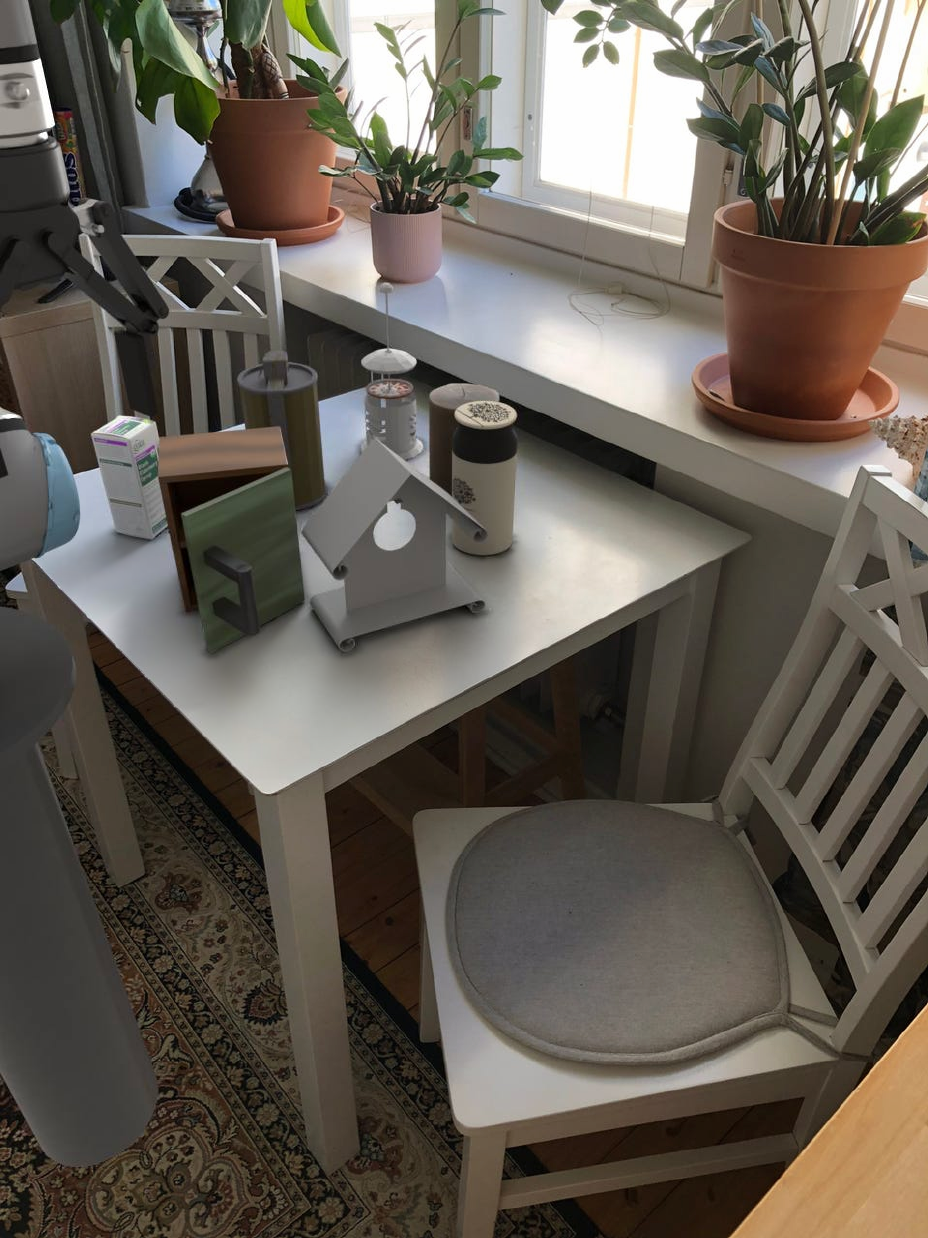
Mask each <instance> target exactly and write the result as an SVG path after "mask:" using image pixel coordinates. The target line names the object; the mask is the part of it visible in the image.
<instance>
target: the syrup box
mask: <svg viewBox="0 0 928 1238" xmlns="http://www.w3.org/2000/svg"><path fill="white" fill-rule="evenodd" d="M90 437H91V440H92V444H93V448H94V452H95V456H96V459H97V460H96V461H97V463H98V467H99V472H100V475H101V479H102V483H103V487H104V490H105V495H106V498H107V501H108V505H109V510H110V514H111V517H112V521H113V526H114V529H115V531H116V533H118V534H122V535H126V536H130V537H135V538H140V539H145V540H154V539H155V538H156V536H158V535H159V534H160V533H161V532H162V531H164V530H165V529H166V528H168V524H167V519H166V514H165V509H164V504H163V499H162V494H161V489H160V485H159V480H158V461H159V437H160V436H159V432H158V426H157V423H156V421H154V420H151V419H147V418H143V417H138V416H129V415H117V416H116V417H115V418H114V419H112V420H111V421H110V422H108V423H106V424H104V425H103V426H101V427H99V428H98V429H96V430H94V431H92V432H91V433H90Z"/></svg>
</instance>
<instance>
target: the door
mask: <svg viewBox="0 0 928 1238" xmlns="http://www.w3.org/2000/svg"><path fill="white" fill-rule="evenodd" d="M181 516H182V522H183V527H184V532H185V537H186V543H187V548H188V553H189V558H190V563H191V569H192V574H193V579H194V584H195V590H196V595H197V600H198V605H199V610H198V612H199V615H200V616H199V617H200V621H201V624H202V625H201V626H202V631H203V636H204V641H205V646H206V651H207V652H208V653H210V654H213V653H215V652H217V651H218V650H220V649H222V648H224V647H226V646H228V645H229V644H231V643H233V642H234V641H236V640H238V639H240V638H241V637H243V636H245V635H246V636H248V637H255V636H257V635H259V634H260V633H261V626H263V625H264V624H266V623H268V622H270V621H271V620H274V619H275V618H277V617H279V616H281V615H282V614H284V613H285V612H287V611H289V610H291V609H293V608H295V607H296V606H299V605H300V604H301V603H303V602H305V601H306V598H305V587H304V579H303V569H302V559H301V550H300V549H301V548H300V541H299V532H298V531H299V530H298V522H297V512H296V511H295V503H294V493H293V484H292V475H291V469H289V468H287V467H286V468H283V469H281V470H279V471H277V472H274V473H272V474H270V475H268V476H265V477H263V478H261V479H258V480H256V481H254V482H252V483H249V484H247V485H245V486H243V487H240V488H238V489H236V490H234V491H231V492H229V493H227V494H224V495H222V496H220V497H218V498H215V499H213V500H211V501H209V502H206V503H204V504H202V505H200V506H197V507H195V508H193V509H190V510H188V511H186V512H184V513H181Z"/></svg>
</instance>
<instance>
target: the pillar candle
mask: <svg viewBox="0 0 928 1238" xmlns="http://www.w3.org/2000/svg"><path fill="white" fill-rule="evenodd" d="M428 398H429V399H428V405H429V408H428V418H429V419H428V426H429V428H428V433H429V434H428V435H429V436H428V437H429V439H428V440H429V442H428V443H429V444H428V445H429V446H428V452H429V454H428V456H429V457H428V458H429V477H428V478H429V479H430V480H431V481H433V482H434V483H435V484H436V485H438V486H439V487H440V488H442V489H443V490H444V491H446V492H447V493H448V494H449V495H450V496H451V497H452V437H453V434H454V433H455V431H456V429H457V427H458V423H457V420H456V418H455V411H456V409H457V408H458V407H460V406H461V405H464V404H466V403H470V402H475V401H494V402H499V403H500V393H499V392H498V391H496V390H495V389H493V388H490V387H488V386H485V385H484V386H483V385H480V384H471V383H448V384H446V385H443V386H440V387H437V388H434V389H433V390H432V391H431V392H430V393H429V396H428Z"/></svg>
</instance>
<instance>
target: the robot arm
mask: <svg viewBox="0 0 928 1238" xmlns="http://www.w3.org/2000/svg"><path fill="white" fill-rule="evenodd" d="M37 41H38V40H37V37H36V32H35V27H34V23H33V17H32V12H31V7H30V3H29V0H0V311H1V310H2V308H3V306H4V305H6V304H7V303H8V302H9V301H10V299H11V297H12V295H13V292H14V291H15V290H16V291H19V292H26V291H30V290H33V289H34V288H36V287H37V286H40V285H41V284H49V285H50V284H51V285H52V284H56V283H59V282H62V277H64V278H66V279H67V280H69V281H70V282H71V283H72V284H73V285H75V287H76V288H78V289H79V290H80V291H81V292H83V293H84V294H85V295H86V296H87V297H89V298H90V299H91V300H92V301H93V302H95V303H96V304H97V305H98V306H99V307H100V308H101V309H102V310H104V311H105V312H106V313H107V314H109V315H110V316H111V317H112V318H113V319H115V321H116V322H118V323H119V324H120V325H122V326H123V327H124V328H125V329H122V328H121V329H118V330H114V331H113V335H114V340H115V344H116V349H117V355H118V358H119V359H118V360H119V363H120V368H121V373H122V378H123V382H124V388H125V392H126V397H127V401H128V406H129V409H130V410H132V411H135V412H137V413H139V414H142V415H145V416H148V417H150V418H152V417H155V416H157V415H159V410H158V409H159V408H158V403H157V399H156V398H157V397H156V394H155V388H154V384H153V378H152V374H151V373H152V372H151V371H154V370H156V364H157V361H156V356H155V352H154V346H153V340H152V336H156V335H157V333H158V332H159V328H160V325H159V323H158V321H159V320H160V319H161V320H165V319H166V318H168V317H169V314H170V308H169V306H168V304H167V302H166V301H165V300H164V298H163V296H162V295H161V293H160V291H158V289H157V288H156V285H155V284H154V283H153V281H152V279H151V278H150V276H149V275H148V274H147V272H146V270H145V269H144V267H143V266H142V265H141V262H140V261H139V259H138V258H137V257H136V255H135V254H134V252H133V250H132V249H131V248H130V246H129V244H128V242H127V241H126V239H125V238H124V237H123V235H122V234H121V231H120V228H119V224H118V221H117V218H116V214H115V211H114V208H113V206H112V205H111V204H110V203H109V202H106V201H102V200H97V199H92V198H90V197H83V198H81V199H80V200H79V201H78V204H77V206H74V207H72V205H71V204H70V202H69V196H70V195H71V194H70V193H71V188H70V184H69V183H70V182H69V180H68V175H67V170H66V165H65V161H64V156H63V152H62V148H61V143H60V142H58V141H57V140H56V138H55V137H53V136H51V135H48V132H50V131H51V130H52V129H53V128H54V127H55V125H56V124H55V119H54V114H53V109H52V106H51V101H50V97H49V92H48V88H47V83H46V78H45V73H44V68H43V65H42V60H41V56H40V51H39V47H38V42H37ZM80 231H81V232H82V233H83V234H85V235H87V236H88V238H89V240H90V242H91V243H92V245H93V246H94V248H95V249H96V251H97V253H98V254H99V255H100V256H101V258H102V259H103V261H104V262H105V264H106V266H107V268H109V270H110V271H111V273H112V274H113V275H114V277H115V279H116V280H117V281H118V283H119V284H120V286H121V287H122V289H123V290H124V291H125V293H126V295H127V296H128V297H129V298H127V297H126V296H125V295H124V294H123V293H122V292H121V291H120V290H118V289H117V288H116V287H115V286H114V285H113V284H112V283H110V282H109V280H107V279H106V278H105V277H104V276H103V275H101V273H99V272H98V271H97V270H96V269H95V265H93V264H92V262H90V261H89V260H88V259H86V258H85V257H84V256H83V255H82V254H81V253H80V252H79V251H78V250H76V248H75V246H76V243H77V240H78V238H79V237H78V236H79V233H80ZM129 299H130V300H129ZM80 522H81V502H80V496H79V492H78V486H77V482H76V479H75V476H74V474H73V470H72V468H71V465H70V463H69V460H68V458H67V456H66V454H65V452H64V450H63V449H62V447H61V446H60V445H59V444H57V442H56V440H55V439H54V437H52V436H51V435H50V434H49V433H42V432H41V433H40V432H34V433H32V434H31V432H30V431H29V429H28V426H27V425H26V422H25V421H24V418H23V417H22V416H21V415H20V414H17V413H14V412H11V411H9V410H7V409H4V408H2V407H1V406H0V572H2V571H4V570H6V569H9V568H11V567H15V566H17V565H19V564H22V563H25V562H27V561H30V560H32V559H40V558H42V556H44V555H45V554H47V553H49V552H51V551H53V550H55V549H58V548H60V547H63V546H64V545H66V544H68V543H70V542H71V541H72V540H73V539H74V538H75V536H76V535H77V533H78V531H79V527H80Z"/></svg>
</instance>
